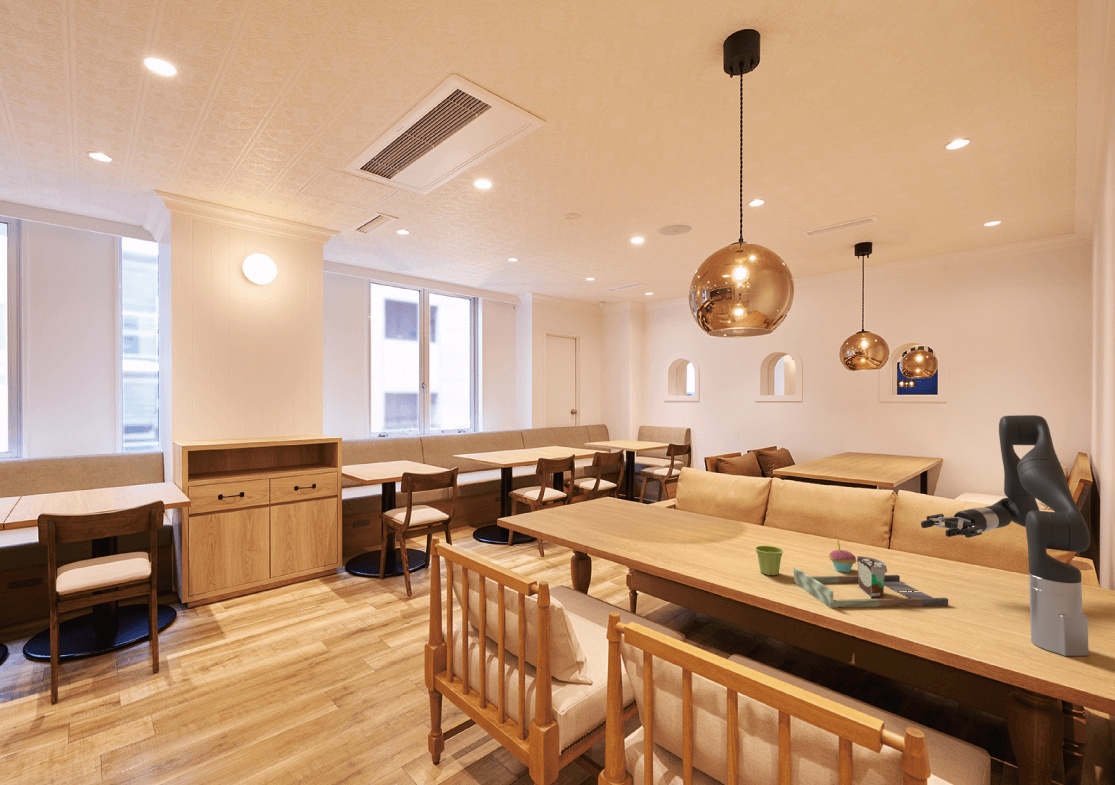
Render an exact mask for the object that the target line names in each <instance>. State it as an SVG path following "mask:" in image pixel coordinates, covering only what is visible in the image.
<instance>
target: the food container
mask: <svg viewBox="0 0 1115 785" xmlns="http://www.w3.org/2000/svg"><path fill="white" fill-rule="evenodd" d="M856 563H857V576H858V578H859V583H858V588H859V589H860V588H861V589H862V592H864V594H866V595H867V594H868V595H869V596H870V597H871V598H870V597H869V596H868V595H867V596H868V597H869V598H870V599H881V598H883V597H884V595H885V593H884V590H885V585H884V577H885V575H886V573H888V569H887V568H888V567H887V565H886V564H885V562H883V560H879V559H877V558H874V557H868V556H861V555H860V556H859V555H857V557H856ZM861 589H860V590H861ZM882 596H883V597H882ZM880 597H881V598H880Z"/></svg>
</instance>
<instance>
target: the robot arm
mask: <svg viewBox="0 0 1115 785" xmlns="http://www.w3.org/2000/svg"><path fill="white" fill-rule="evenodd" d="M998 436H999V443H1000V444H999V446H1000V453H1001V459H1002V465H1003V474H1004V479H1003V480H1004V481H1003V492H1004V495H1005V497H1003V498H1001V499H1000V500H998V501H996V502H995V503H993V504H992V505H988V506H987V505H986V506H983V507H974V508H968V509H963V510H959V511H957V512H956V513H955V514H954V515H953V516H944V514H943V513H939V514H933V515H926V520H922V521H921V522H920V527H921V528H923V529H927V528H932V527H933V528H934V527H939V529H945V536H946V537H948V538H951V537H957V536H959V537H963V536H964V537H965V538H973V537H977V536H981V535H983V533H984V532H989V531H992V530H994V529H1000V528H1004V527H1007V526H1009V525H1010V524H1011V523H1012V522H1013V523H1015V524H1016V525H1019V526H1021V527H1024V528H1025V533H1026V534H1025V535H1026V541H1027V554H1028V557H1027V558H1028V580H1029V581H1028V586H1029V588H1028V589H1029V617H1030V619H1029V620H1030V621H1029V622H1030V641H1031V643H1033V645H1035V646H1037V647H1039V648H1041V649H1044V650H1046V651H1048V652H1049V651H1050V652H1052V653H1056V654H1059V655H1061V656H1064V657H1076V656H1077V657H1078V656H1085V657H1086V656H1089V655H1090V654H1089V650H1090V649H1089V624H1088V623H1089V622H1088V615H1087V614H1084V613H1083V590H1082V589H1083V586H1082V585H1083V583H1082V581H1083V580H1082V572H1081V570H1080V569H1079V568H1078V567H1076V566H1074V565H1072V564H1070V563H1067V562H1064V561H1061V560H1060V559H1056V558H1054V557H1053V556H1052V555H1049V554H1048V552H1047V550H1055V551H1062V552H1071V553H1072V552H1073V553H1074V552H1075V553H1081V552H1085V551H1087V550H1088V549H1090V548H1089V547H1090V545H1091V534H1090V530H1089V528H1088V524H1087V523H1086V520H1085V518H1084V517H1083V514H1082V513H1081V511H1080V508H1079V507H1078V505H1077V503H1076V501H1075V499H1074V497H1073V495H1072V492H1071V490H1070V487H1069V483H1068V481H1067V476H1066V474H1065V472H1064V469H1063V467H1062V464H1061V463H1060V459H1059V458H1058V455H1057V452H1056V451H1055V450H1056V449H1055V446H1054V442H1053V438H1052V436H1051V430H1050V427H1049V424H1048V422H1047V420H1046V419H1045V418H1044V417H1043V416H1041V415H1032V414H1031V415H1029V414H1027V415H1025V414H1024V415H1021V414H1019V415H1004V416H1002V417H1000V419H999V424H998ZM1014 446H1033V448H1031V449H1030V450H1029V451H1028V452H1026V453H1025V454H1024V455H1023V456H1022V458H1020V457H1019V456H1018V455H1017V453H1016V451H1015V448H1014ZM1037 500H1038V501H1039V502H1040V503H1042V504H1044V505H1045V506H1047V507H1048V508H1050V510H1052V511H1047V510H1040V507H1039V505H1038V503H1037ZM943 523H944V525H943Z"/></svg>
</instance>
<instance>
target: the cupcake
mask: <svg viewBox="0 0 1115 785" xmlns="http://www.w3.org/2000/svg"><path fill="white" fill-rule="evenodd" d="M836 538H837V539H836V543H837V549H836V550H833V551H831V552H830V553H829V555H828V556H829V561H831V562H832V564H833V566H834V568H835V570H836V571H838V572H841V573H850V572H851V571H852V568H853V565H854V564H855V563H857V557H856V556H855V555H854V554H853V553H852V552H850V551H848V550H844V549H841V543H840V539H839V538H838V537H836Z"/></svg>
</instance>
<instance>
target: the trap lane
mask: <svg viewBox="0 0 1115 785" xmlns="http://www.w3.org/2000/svg"><path fill="white" fill-rule="evenodd" d="M794 582H795V583H796V584H795V583H794ZM854 582H859V578H858V575H827V576H826V575H824V576H823V575H817V576H815V575H812V576H811V575H809V574H807V573H806V572H804V571H803V570H801V569H799V568H798V567H793V583H794V584H795V585H797V584H798V585H799V586H798V585H797V586H798V587H800V588H801V587H802V588H803V590H804V591H805V590H806V591H805V592H807V593H808V592H809V593H808V594H809V595H811V594H812V595H813V596H812V595H811V596H812V597H814V598H815V597H816V598H815V599H817V600H818V601H819V602H821V603H822V602H823V604H824V605H825V604H826V605H825V606H827V607H828V608H829V609H839V608H838V607H857V608H882V607H881V606H908V607H946V606H945V605H948V606H949V598H947V597H933V596H930V595H928V594H926V593H925V592H923V591H919V590H918V589H916V588H914V587H912V586H910V585H908V584H906V583H904V582H902V581H901V580H900V575H899V574H885V577H884V586H885V585H886V586H888V587H890V588H892V589H893V590H892V589H891V590H892V591H894V590H895V592H896V591H898V592H897V593H899V594H900V593H901V594H900V595H902V594H903V595H902V596H904V595H905V596H906V597H905V596H904V597H905V598H903V597H902V598H860V599H859V598H858V599H854V598H853V599H850V598H849V599H834V590H832V589H831V588H830V587H828V586H826V585H825V584H845V583H846V584H852V583H854ZM886 586H885V587H886ZM888 587H887V588H888ZM890 588H889V589H890ZM899 591H907V592H899ZM908 591H912V592H908ZM914 591H919V592H914ZM907 597H908V598H907ZM876 606H877V607H876ZM878 606H880V607H878Z"/></svg>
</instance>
